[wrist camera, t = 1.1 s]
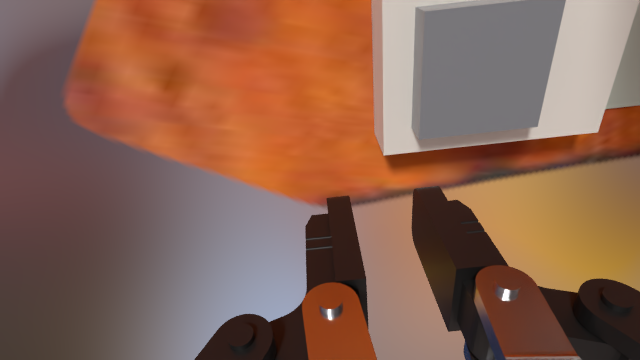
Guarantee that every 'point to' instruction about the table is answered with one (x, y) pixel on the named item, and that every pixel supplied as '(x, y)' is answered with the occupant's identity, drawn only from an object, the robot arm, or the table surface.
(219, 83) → the table surface
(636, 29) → the mat
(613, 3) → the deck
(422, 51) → the grey block
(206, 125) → the table surface
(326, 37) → the table surface
